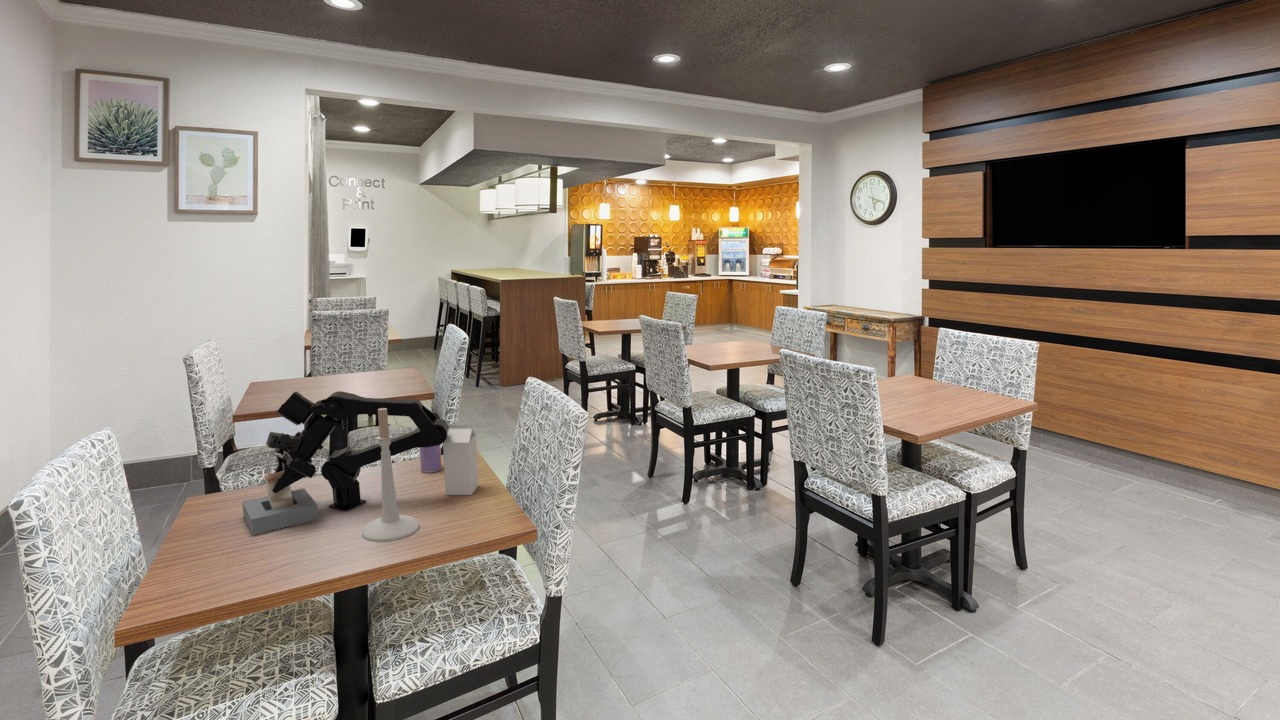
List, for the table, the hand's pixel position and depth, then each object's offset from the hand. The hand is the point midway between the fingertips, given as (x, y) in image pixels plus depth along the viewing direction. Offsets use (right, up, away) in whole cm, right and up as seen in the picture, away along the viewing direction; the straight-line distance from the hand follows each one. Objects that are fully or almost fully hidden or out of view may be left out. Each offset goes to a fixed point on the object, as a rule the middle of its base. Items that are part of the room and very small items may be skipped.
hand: (272, 489), depth 156 cm
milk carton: (+41, -5, +20) cm, 46 cm away
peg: (+1, -6, +2) cm, 7 cm away
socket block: (+1, -7, +2) cm, 8 cm away
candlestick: (+31, -9, -5) cm, 33 cm away
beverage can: (+27, -2, +37) cm, 46 cm away
